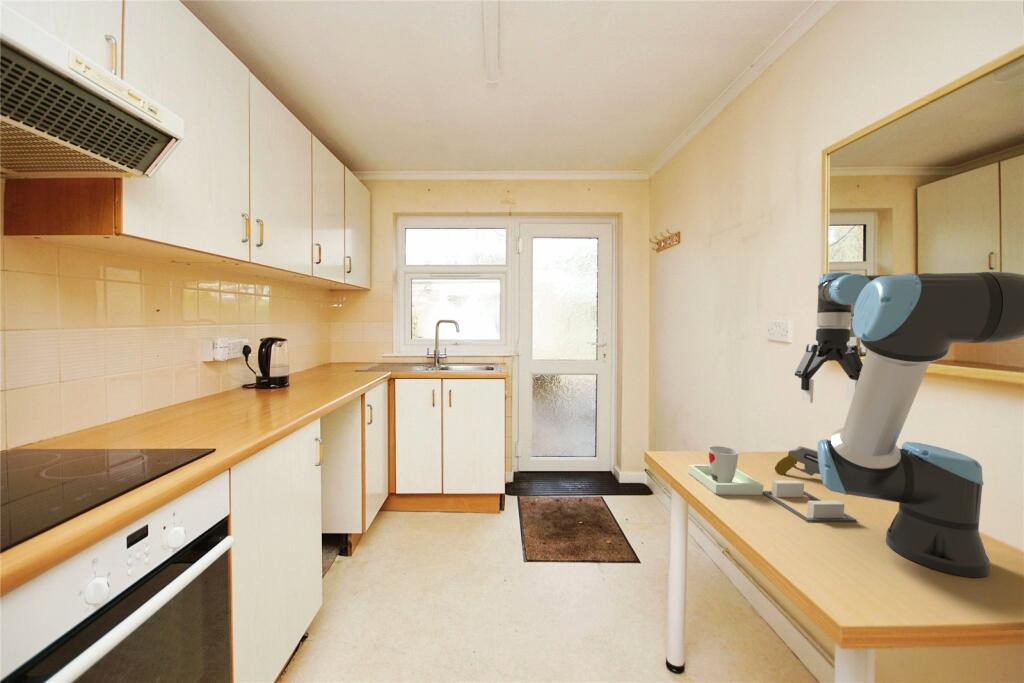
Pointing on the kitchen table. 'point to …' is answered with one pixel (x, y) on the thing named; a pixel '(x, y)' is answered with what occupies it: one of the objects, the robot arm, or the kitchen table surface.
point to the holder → (809, 503)
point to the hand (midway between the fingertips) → (829, 402)
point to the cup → (722, 463)
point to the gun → (802, 456)
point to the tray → (739, 484)
